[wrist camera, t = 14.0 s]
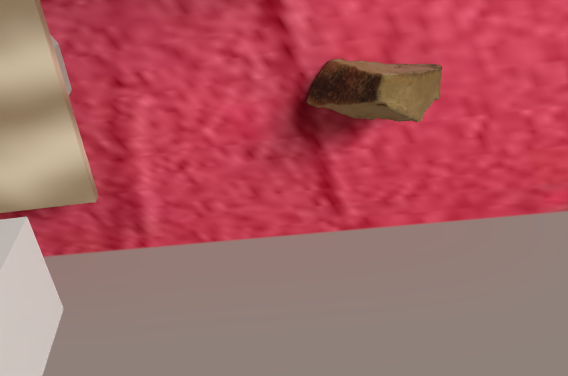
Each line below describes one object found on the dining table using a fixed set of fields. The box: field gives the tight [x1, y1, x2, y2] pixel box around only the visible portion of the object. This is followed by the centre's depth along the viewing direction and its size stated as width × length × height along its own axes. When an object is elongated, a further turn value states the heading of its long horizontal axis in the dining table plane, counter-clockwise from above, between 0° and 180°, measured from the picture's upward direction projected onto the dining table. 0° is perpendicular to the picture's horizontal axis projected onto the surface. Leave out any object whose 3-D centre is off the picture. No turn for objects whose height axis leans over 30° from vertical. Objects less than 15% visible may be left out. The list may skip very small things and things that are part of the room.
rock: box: [306, 59, 442, 122], centre depth 44 cm, size 11×9×10 cm
